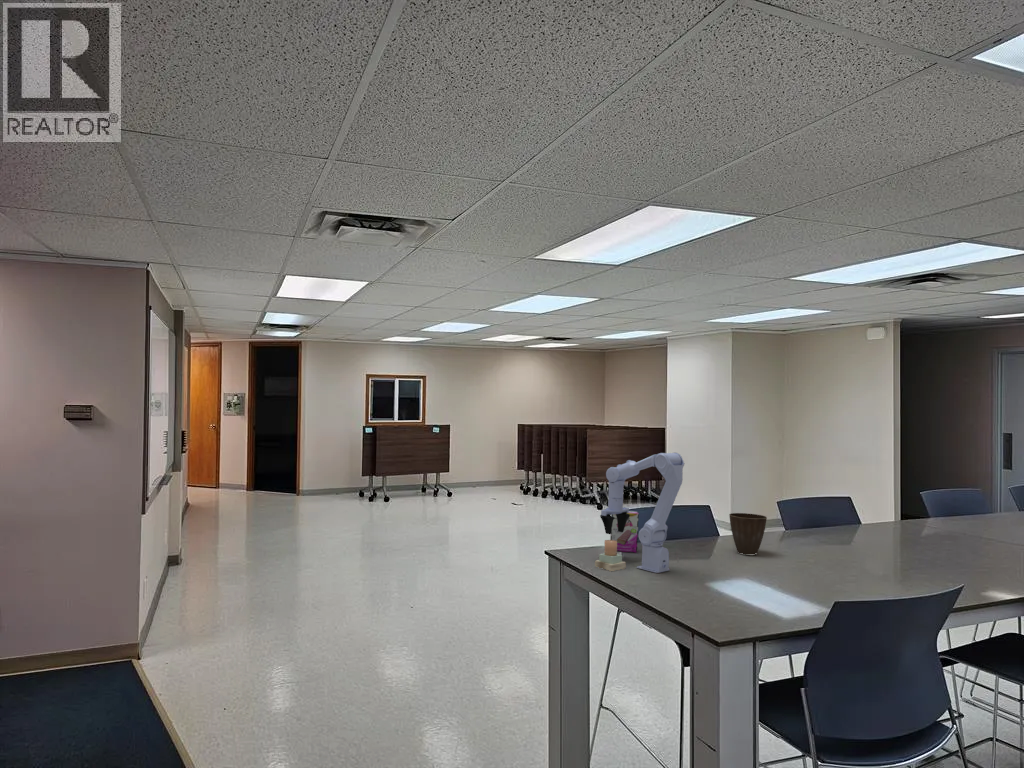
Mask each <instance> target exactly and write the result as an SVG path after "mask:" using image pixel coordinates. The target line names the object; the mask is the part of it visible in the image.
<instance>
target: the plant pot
mask: <svg viewBox="0 0 1024 768" xmlns="http://www.w3.org/2000/svg"><path fill="white" fill-rule="evenodd" d="M728 516H729V522H730V529H731V534H732V537H733V542H734V545H735V547H736V548H735V549H736V551H737V553H738V552H739V553H743V554H755V553H757V554H758V552H759V550H760V548H761V544H762V542H763V538H764V533H765V530H766V524H767V518H768V517H767V515H762V514H756V513H746V512H745V513H744V512H734V513H733V512H732V513H731V512H730V513H729V515H728ZM739 553H738V554H739Z"/></svg>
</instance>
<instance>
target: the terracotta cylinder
mask: <svg viewBox="0 0 1024 768" xmlns="http://www.w3.org/2000/svg"><path fill="white" fill-rule="evenodd" d="M603 553H604V555H607V556H616V555H617V554H618V552H617V541H616V540H610V539H605V540H604V551H603Z"/></svg>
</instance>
